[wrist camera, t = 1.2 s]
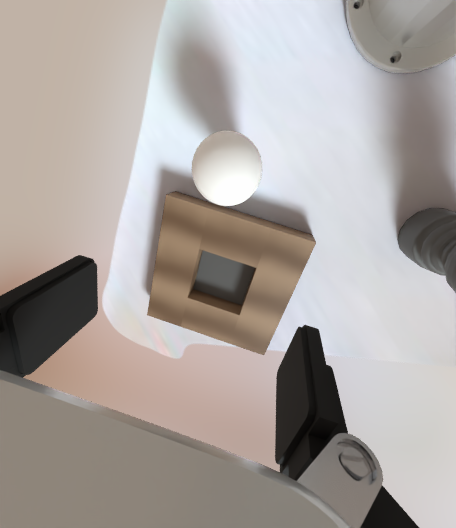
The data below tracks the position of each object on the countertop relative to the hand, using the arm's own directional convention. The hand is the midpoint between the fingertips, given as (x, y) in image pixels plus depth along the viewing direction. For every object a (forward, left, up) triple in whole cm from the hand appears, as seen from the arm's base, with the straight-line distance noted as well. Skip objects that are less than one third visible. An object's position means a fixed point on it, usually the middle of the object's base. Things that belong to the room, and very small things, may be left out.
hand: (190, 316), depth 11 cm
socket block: (+9, 0, -22) cm, 24 cm away
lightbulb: (-5, -2, -22) cm, 23 cm away
